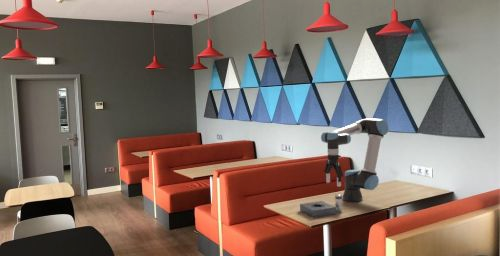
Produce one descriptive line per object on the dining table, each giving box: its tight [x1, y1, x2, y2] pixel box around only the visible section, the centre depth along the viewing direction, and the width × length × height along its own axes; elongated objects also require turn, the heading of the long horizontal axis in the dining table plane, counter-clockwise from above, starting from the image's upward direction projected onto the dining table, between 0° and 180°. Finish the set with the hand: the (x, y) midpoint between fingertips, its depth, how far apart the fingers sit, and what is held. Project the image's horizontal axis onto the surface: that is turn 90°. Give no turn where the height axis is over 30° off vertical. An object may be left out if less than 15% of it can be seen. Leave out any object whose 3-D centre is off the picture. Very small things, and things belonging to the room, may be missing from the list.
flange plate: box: [299, 200, 337, 219], centre depth 285 cm, size 18×18×5 cm
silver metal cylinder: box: [334, 193, 343, 214], centre depth 286 cm, size 5×5×12 cm
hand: (333, 184), depth 285 cm, fingers open, 13 cm apart
